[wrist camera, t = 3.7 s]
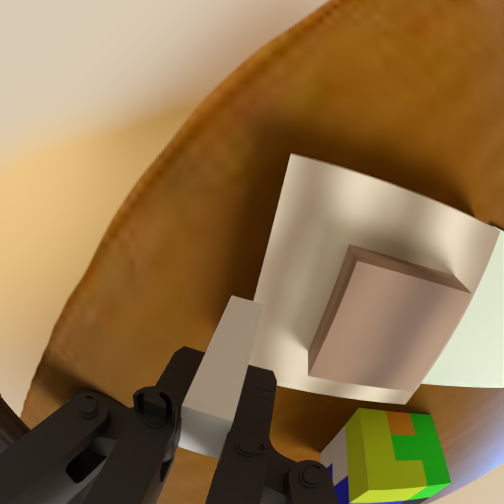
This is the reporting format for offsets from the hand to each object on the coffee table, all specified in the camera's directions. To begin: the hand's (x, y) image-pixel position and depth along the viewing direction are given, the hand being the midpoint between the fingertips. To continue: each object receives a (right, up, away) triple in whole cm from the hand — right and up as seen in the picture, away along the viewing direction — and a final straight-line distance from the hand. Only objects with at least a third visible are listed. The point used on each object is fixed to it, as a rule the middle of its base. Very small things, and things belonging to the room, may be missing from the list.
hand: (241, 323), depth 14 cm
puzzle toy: (+15, -18, +14) cm, 27 cm away
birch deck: (+9, +1, +7) cm, 11 cm away
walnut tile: (+9, -1, +4) cm, 10 cm away
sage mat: (+26, -4, +6) cm, 26 cm away
